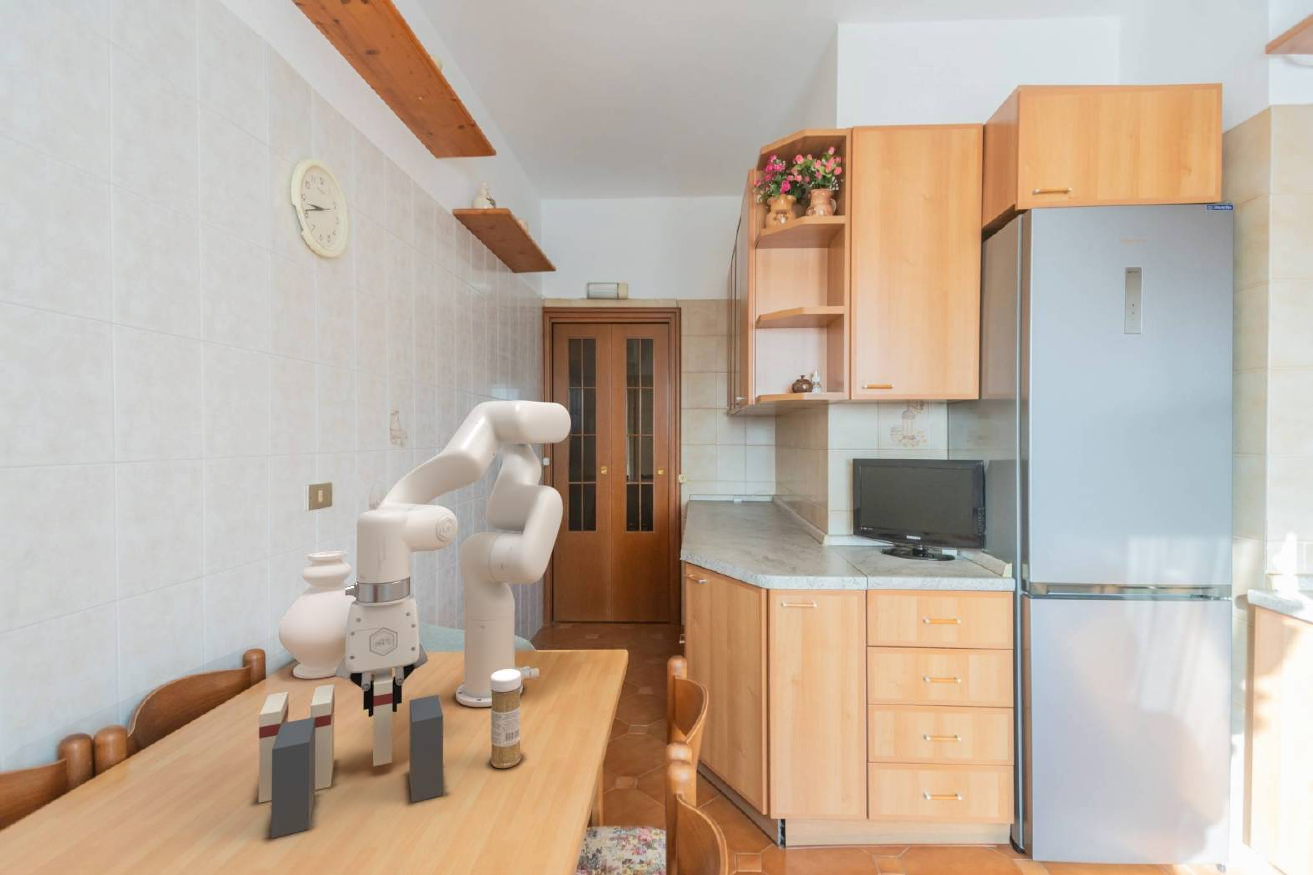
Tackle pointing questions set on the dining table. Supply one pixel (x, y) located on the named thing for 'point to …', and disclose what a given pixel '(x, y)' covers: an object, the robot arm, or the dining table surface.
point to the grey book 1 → (293, 777)
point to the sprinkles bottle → (505, 718)
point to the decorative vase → (319, 617)
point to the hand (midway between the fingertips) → (382, 709)
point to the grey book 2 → (425, 748)
